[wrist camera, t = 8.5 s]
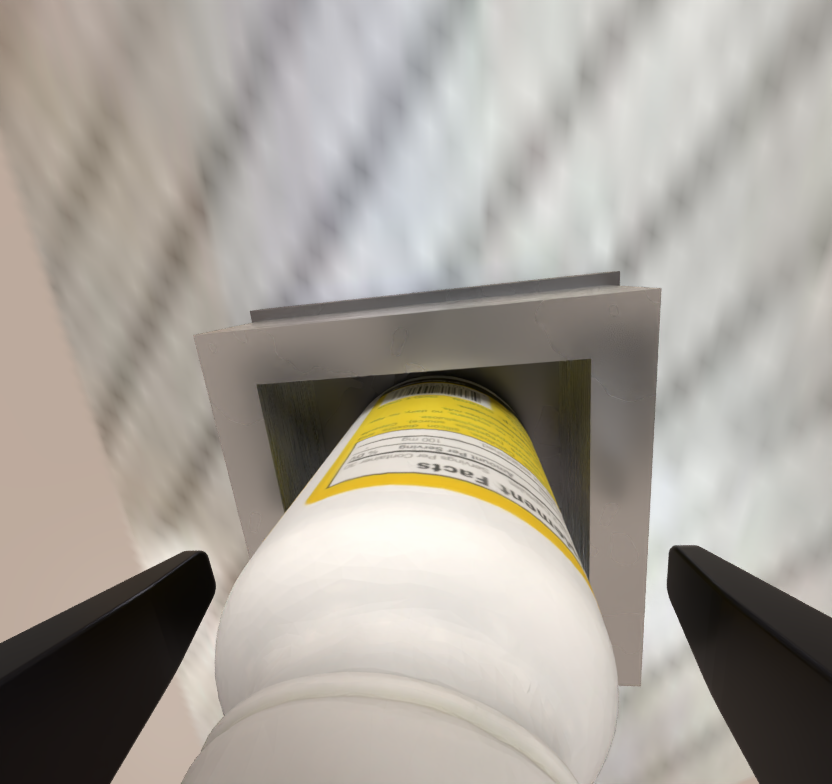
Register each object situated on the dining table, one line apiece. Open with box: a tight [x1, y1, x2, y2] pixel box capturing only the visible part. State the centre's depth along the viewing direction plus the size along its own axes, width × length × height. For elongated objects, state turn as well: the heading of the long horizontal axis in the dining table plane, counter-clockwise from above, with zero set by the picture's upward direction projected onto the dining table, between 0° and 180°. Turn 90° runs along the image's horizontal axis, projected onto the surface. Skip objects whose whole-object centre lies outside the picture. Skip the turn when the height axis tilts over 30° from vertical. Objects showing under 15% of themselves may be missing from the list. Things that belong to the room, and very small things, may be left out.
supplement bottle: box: [181, 376, 619, 784], centre depth 7 cm, size 5×5×10 cm
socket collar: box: [193, 271, 661, 686], centre depth 11 cm, size 10×10×4 cm
